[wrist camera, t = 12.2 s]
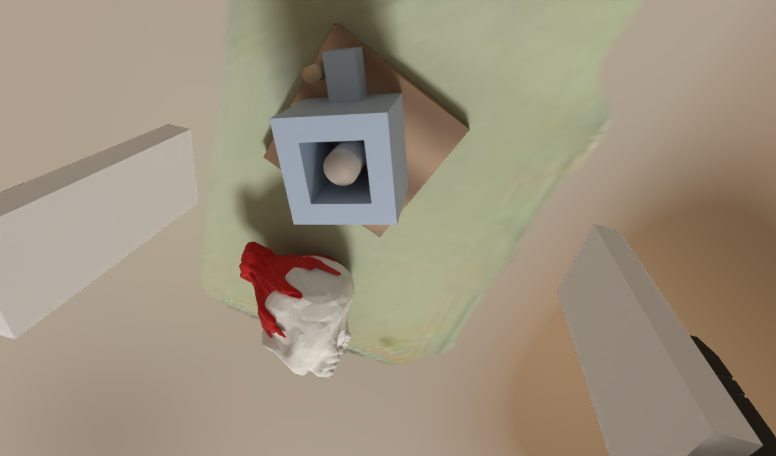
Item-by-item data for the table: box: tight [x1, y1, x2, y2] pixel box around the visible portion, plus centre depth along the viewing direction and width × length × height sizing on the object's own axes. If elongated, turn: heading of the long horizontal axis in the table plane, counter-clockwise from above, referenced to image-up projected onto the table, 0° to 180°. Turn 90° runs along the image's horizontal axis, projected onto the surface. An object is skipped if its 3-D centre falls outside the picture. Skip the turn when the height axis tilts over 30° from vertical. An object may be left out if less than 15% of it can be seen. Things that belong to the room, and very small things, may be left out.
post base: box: [264, 24, 469, 237], centre depth 30 cm, size 13×13×7 cm
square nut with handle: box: [270, 47, 408, 225], centre depth 29 cm, size 12×8×7 cm
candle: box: [239, 242, 355, 378], centre depth 38 cm, size 9×11×15 cm
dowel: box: [302, 62, 326, 84], centre depth 29 cm, size 1×1×3 cm
